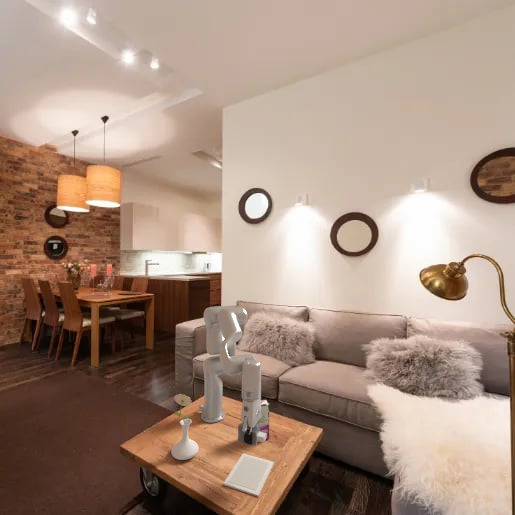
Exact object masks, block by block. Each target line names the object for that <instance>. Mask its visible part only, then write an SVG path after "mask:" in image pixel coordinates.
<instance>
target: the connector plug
mask: <svg viewBox="0 0 515 515" xmlns="http://www.w3.org/2000/svg"><path fill="white" fill-rule="evenodd" d="M248 425H249V424H248ZM242 428H243V426H242V422H241V423H239V424H238V425H237V436H238V437H237V440H238V442H240V443H244V432H243V431H242ZM247 429H248V430H249V427H247ZM251 434H252V445H251V446H254V447H256V446H257V445H258V443H260V442H261V443H265V441H266V440H267V439H266V437H267V433H263V432H260V426H256V425H255V427H253V428H252V432H251ZM244 444H245V443H244Z"/></svg>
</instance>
